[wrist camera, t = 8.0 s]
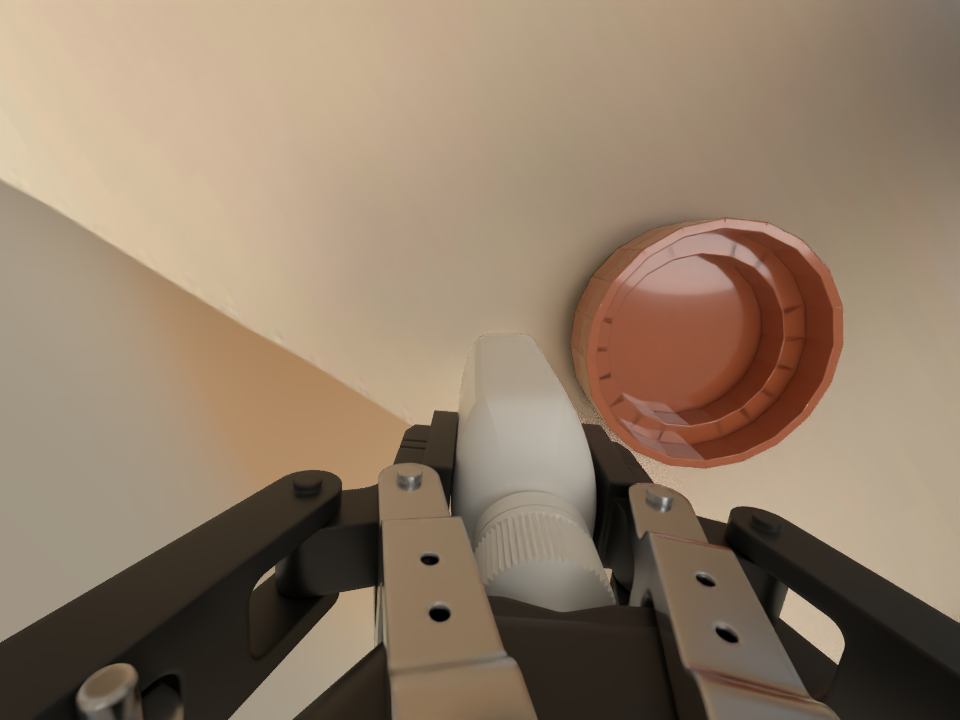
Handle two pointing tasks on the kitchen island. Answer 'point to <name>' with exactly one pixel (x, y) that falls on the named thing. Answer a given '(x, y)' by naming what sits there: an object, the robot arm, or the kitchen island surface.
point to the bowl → (708, 340)
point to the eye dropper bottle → (526, 480)
